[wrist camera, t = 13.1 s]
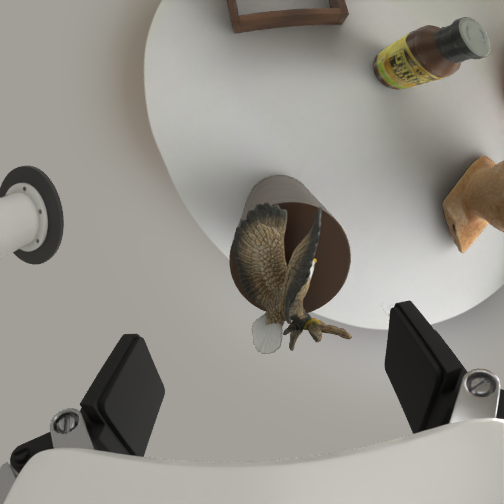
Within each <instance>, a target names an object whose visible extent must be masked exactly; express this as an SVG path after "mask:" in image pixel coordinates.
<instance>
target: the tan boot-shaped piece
mask: <svg viewBox="0 0 504 504" xmlns="http://www.w3.org/2000/svg"><path fill="white" fill-rule="evenodd" d="M442 206H443V209H444V215H445V218H446V221H447V225H448V226H449V229H450V233H451V236H452V237H453V239H454V242H455V244H456V246H457V247H458V249H459V251H460V252H461V253H464V252H465V251H466V250H467V249H468V248H469V246H470V245H471V244H472V243H473V242H474V241H475V240H476V239H477V237H478V236H479V235H480V234H481V232H482V231H483V230H484V228H485V227H486V226H487V225H488V223H490V224H491V225H492V226H494V227H495V228H497V229H498V230H500V231H502V232H504V161H502V162H500V163H498V164H497V165H496V164H495V163H494V162H493V161H492V160H491V159H490V158H488V157H486V156H482V157H480V158H478V159H477V160H476V161H475V162H474V163H473V164H472V165H471V166H470V167H469V168H468V169H467V171H466V172H465V173H464V175H463V176H462V177H461V178H460V180H459V181H458V182H457V184H456V185H455V186H454V188H453V189H452V190H451V192H450V193H449V194H448V195H447V197H446V198H445V200H444V201H443V203H442Z"/></svg>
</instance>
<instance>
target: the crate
mask: <svg viewBox="0 0 504 504" xmlns="http://www.w3.org/2000/svg"><path fill="white" fill-rule="evenodd" d="M227 2H228V7H229V12H230V17H231V22H232V26H233V29H234V33H241V32H247V31H254V30H261V29H269V28H278V27H289V26H303V25H330V24H343V22H344V21H345V19H346V18H347V16H348V15H349V13H348V10H347V6H346V3H345V0H329V3H330V7H331V8H313V9H293V10H280V11H270V12H262V13H254V14H247V15H241V16H239V14H238V9H237V5H236V0H227Z"/></svg>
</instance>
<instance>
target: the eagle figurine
mask: <svg viewBox="0 0 504 504" xmlns="http://www.w3.org/2000/svg"><path fill="white" fill-rule="evenodd" d="M321 214H322V207H321V206H320V207H319V209H318V210H317V212H316V216H315V220H314V223H313V226H312V228H311V230H310V232H309V234H308V235H307V236H306V237H305V238H304V239H303V240H302V241H301V243H300V244H299V245H298V246H297V247H296V249H295V250H294V252H293V254H292V257H291V259H290V261H289V264H288V267H287V264H286V261H285V252H284V235H285V230H286V223H287V211H286V210H284V209H283V210H281V209H280V207H279V206H278V205H274V206H272V205H271V203H269V202H265V203H264V204H262V203H258V204H257V205H256V206H255V209H254V210H252V209H250V210H249V211H248V213H247V216H246V220H244V219H242V220H241V224H240V226H238V227H237V228H236V232H235V239H234V241H233V244H234V248H233V252H234V254H235V261H236V264H237V266H238V271H239V276H240V278H241V283H242V287H243V288H244V291H245V292H246V293H247V294H248V297H249V298H251V300H252V301H253V302H256V303H257V304H258V305H261V306H262V308H263V309H266V313H265V314H264V315H263V316H261V317H260V318H259V319H257V320H256V321H255V322H254V323H253V325H252V334H253V343H254V345H255V347H256V349H257V351H259V352H261V353H262V354H270V353H273V352H275V351H276V350H277V349H279V347H280V345H281V342H282V326H283V324H284V321H287V323H288V324H290V325H289V327H288V328H287V329H286V330H285V331H284V333H283V335H286V334H288V333H290V332H291V334H290V343H289V348H290V350H292V351H293V349H294V345H295V342H296V340H297V338H298V336H299V335H300V334H301V333H302V331H303V329H304V330H308V331H309V333H310V334H311V336H312V337H313V339H314V340H315V341H316V342H319V341H321V338H322V332H323V333H330V334H335V335H339V336H340V337H342V338H346V339H351V338H352V336H351V335H350V334H349V333H348V332H347V331H346V330H344V329H342V328H338V327H335V326H332V325H326V324H325V323H323V322H322V321H320V320H317V319H315V318H311V317H310V315H309V314H308V313H306V311H305V310H304V308H303V298H304V297H305V295H306V293H307V291H308V288H309V285H310V280H311V277H312V274H313V271H314V265H315V263H316V262H317V259H315V258H314V257H315V252H316V249H317V244H318V241H319V237H320V230H321ZM291 320H293V321H292V323H291Z"/></svg>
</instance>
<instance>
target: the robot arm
mask: <svg viewBox="0 0 504 504" xmlns="http://www.w3.org/2000/svg"><path fill="white" fill-rule="evenodd" d="M47 229H48V217H47V211H46V207H45V204H44V201H43V199H42V197H41V195H40V194H39V193H38V191H37V190H36V189H35V188H34V187H33V186H31V185H30V184H27V183H18V184H15V185H13V186H12V187H11V188H9V190H8V191H7V193H6V195H5V197H2V198H0V259H2V258H4V257H5V256H7V255H9V254H11V253H13V252H14V251H16V250H18V249H21V250H23V251H27V252H29V251H33V250H36V249H37V248H39V247H40V246H41V245H42V244H43V242H44V240H45V238H46V235H47ZM385 370H386V373H387V375H388V377H389V379H390V382H391V384H392V386H393V388H394V390H395V392H396V394H397V397H398V399H399V401H400V404H401V406H402V408H403V411H404V413H405V415H406V418H407V420H408V422H409V425H410V427H411V430H412V432H413V434H412V435H408V436H405V437H401V438H397V439H394V440H390V441H386V442H382V443H377V444H373V445H370V446H365V447H360V448H356V449H350V450H346V451H340V452H335V453H328V454H321V455H315V456H307V457H299V458H290V459H279V460H266V461H248V462H247V461H245V462H202V461H201V462H200V461H181V460H167V459H157V458H147V457H143V456H144V454H145V450H146V448H147V444H148V441H149V438H150V435H151V432H152V430H153V426H154V424H155V421H156V418H157V415H158V412H159V409H160V406H161V403H162V401H163V398H164V394H165V389H164V385H163V383H162V381H161V379H160V376H159V374H158V372H157V369H156V367H155V365H154V362H153V360H152V358H151V355H150V353H149V350H148V348H147V345H146V343H145V341H144V339H143V338H142V337H140V336H139V335H138V334H124V335H123V336H122V337H121V339H120V340H119V342H118V343H117V345H116V346H115V348H114V350H113V351H112V353H111V354H110V356H109V357H108V359H107V361H106V362H105V364H104V365H103V367H102V368H101V370H100V372H99V373H98V375H97V377H96V378H95V380H94V382H93V383H92V385H91V387H90V388H89V390H88V391H87V393H86V395H85V396H84V398H83V400H82V402H81V403H80V405H81V407H82V408H81V410H80V411H78V410H77V409H73V408H68V409H64V410H62V411H60V412H58V413H57V414H56V415H55V416H54V417H53V419H52V420H51V423H50V432H49V433H46V434H44V435H42V436H40V437H38V438H35V439H33V440H31V441H29V442H26V443H24V444H22V445H20V446H18V447H17V448H16V449H15V450H14V451H13V453H12V454H11V458H10V463H11V464H8V462H6V463H5V464H3V465H2V466H1V467H0V504H504V390H502V389H500V381H499V379H498V377H497V376H496V375H495V374H494V373H492V372H490V371H488V370H485V369H474V370H471V371H469V372H467V371H466V369H465V368H464V367H463V365H462V364H461V362H460V361H459V360H458V358H457V357H456V356H455V354H454V353H453V352H452V350H451V349H450V348H449V346H448V345H447V344H446V343H445V341H444V340H443V339H442V337H441V336H440V335H439V334H438V332H437V331H435V330H434V329H433V328H432V326H431V325H430V324H429V323H428V321H427V320H426V319H425V318H424V316H423V315H422V314H421V313H420V312H419V310H418V309H417V308H416V307H415V305H414V304H413V303H412V302H411V301H405V302H400V303H396V304H395V306H394V308H391V310H390V320H389V332H388V340H387V348H386V356H385Z"/></svg>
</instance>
